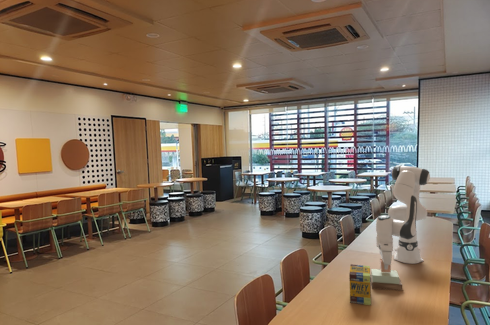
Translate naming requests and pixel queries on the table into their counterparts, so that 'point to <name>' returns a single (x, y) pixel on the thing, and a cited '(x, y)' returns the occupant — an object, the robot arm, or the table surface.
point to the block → (383, 267)
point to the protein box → (360, 284)
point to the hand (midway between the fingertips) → (385, 267)
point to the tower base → (386, 285)
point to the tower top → (385, 276)
